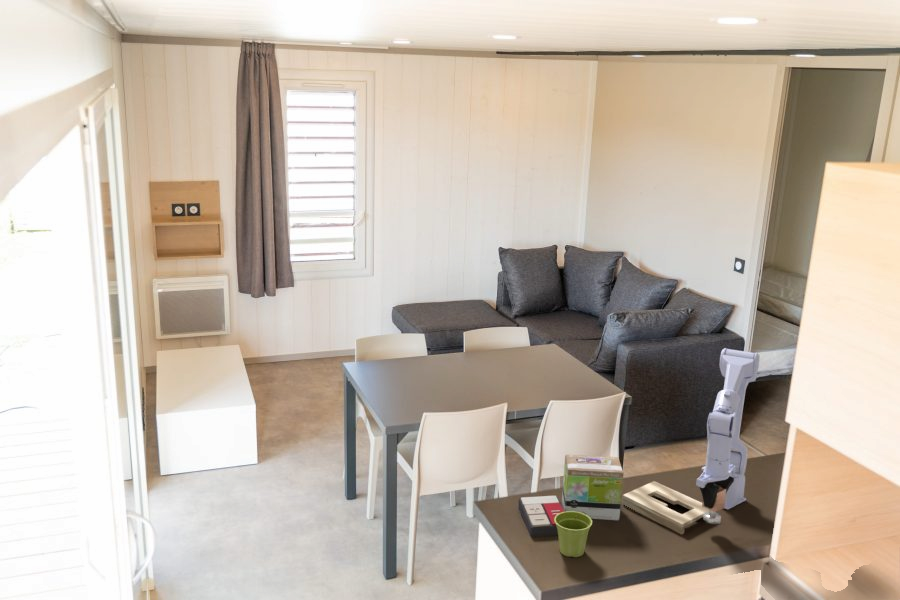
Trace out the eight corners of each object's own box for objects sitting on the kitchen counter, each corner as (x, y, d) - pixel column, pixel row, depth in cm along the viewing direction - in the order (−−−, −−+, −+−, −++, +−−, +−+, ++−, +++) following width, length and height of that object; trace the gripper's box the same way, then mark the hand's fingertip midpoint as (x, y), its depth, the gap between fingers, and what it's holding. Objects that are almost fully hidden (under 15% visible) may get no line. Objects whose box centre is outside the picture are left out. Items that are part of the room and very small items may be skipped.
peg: (709, 513, 212) (712, 482, 210) (723, 520, 209) (727, 488, 207) (699, 518, 210) (702, 487, 207) (714, 525, 206) (717, 493, 204)
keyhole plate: (653, 490, 233) (654, 481, 232) (712, 518, 217) (713, 508, 217) (622, 504, 224) (622, 494, 224) (681, 534, 209) (682, 524, 208)
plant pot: (545, 549, 201) (546, 518, 199) (571, 537, 207) (572, 507, 205) (572, 566, 194) (573, 534, 192) (598, 553, 200) (600, 522, 198)
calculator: (531, 525, 206) (518, 495, 220) (530, 540, 207) (517, 508, 222) (572, 522, 208) (557, 493, 222) (571, 537, 209) (556, 506, 223)
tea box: (564, 519, 216) (567, 469, 212) (561, 501, 226) (564, 453, 222) (620, 521, 215) (624, 471, 212) (615, 503, 225) (618, 455, 221)
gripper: (720, 444, 212) (716, 490, 216) (688, 458, 204) (683, 506, 207) (744, 453, 207) (739, 500, 210) (711, 468, 198) (707, 517, 202)
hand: (713, 504), depth 208 cm, fingers closed on peg, 4 cm apart
